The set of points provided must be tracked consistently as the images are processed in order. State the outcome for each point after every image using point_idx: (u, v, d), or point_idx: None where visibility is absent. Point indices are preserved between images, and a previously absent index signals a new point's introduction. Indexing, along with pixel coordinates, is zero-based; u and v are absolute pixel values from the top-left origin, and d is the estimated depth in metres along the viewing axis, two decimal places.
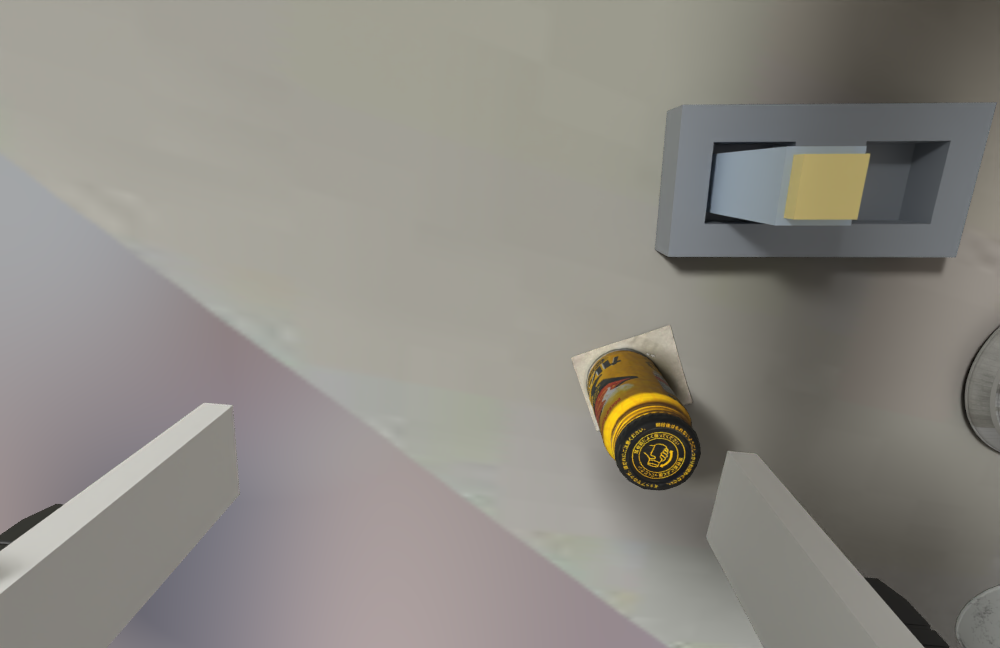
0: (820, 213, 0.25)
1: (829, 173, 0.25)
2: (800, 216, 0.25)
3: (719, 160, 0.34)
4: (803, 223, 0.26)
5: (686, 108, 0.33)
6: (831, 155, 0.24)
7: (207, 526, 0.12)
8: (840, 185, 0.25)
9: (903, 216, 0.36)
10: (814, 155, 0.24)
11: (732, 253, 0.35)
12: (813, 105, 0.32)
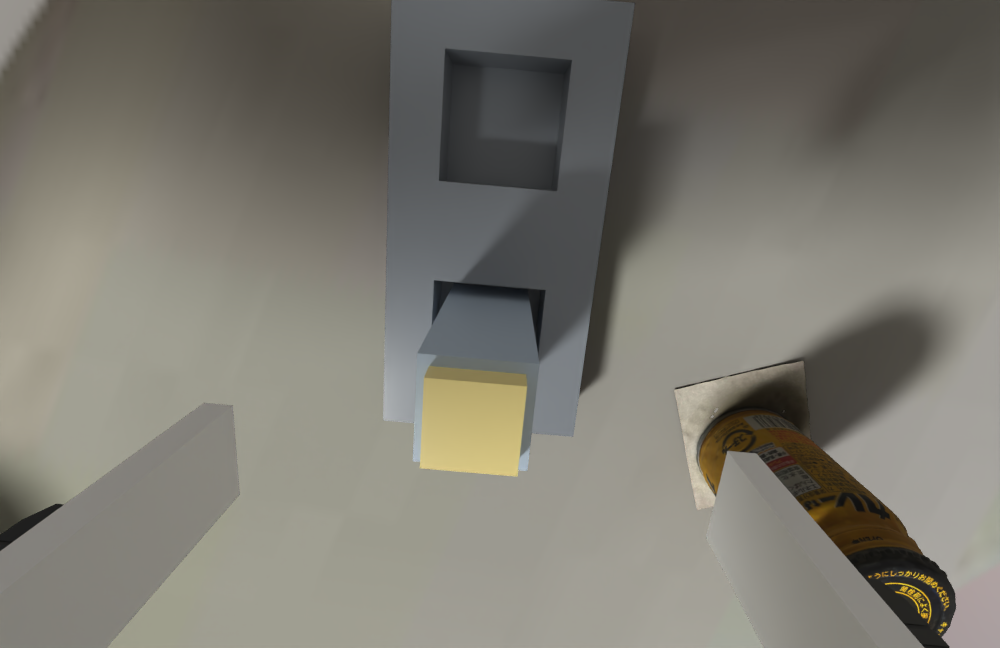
0: (511, 440, 0.16)
1: (450, 432, 0.16)
2: (513, 467, 0.16)
3: None
4: (528, 432, 0.17)
5: (387, 415, 0.26)
6: (424, 432, 0.16)
7: (207, 526, 0.12)
8: (470, 415, 0.16)
9: (559, 71, 0.23)
10: (422, 456, 0.16)
11: (579, 355, 0.25)
12: (388, 261, 0.24)
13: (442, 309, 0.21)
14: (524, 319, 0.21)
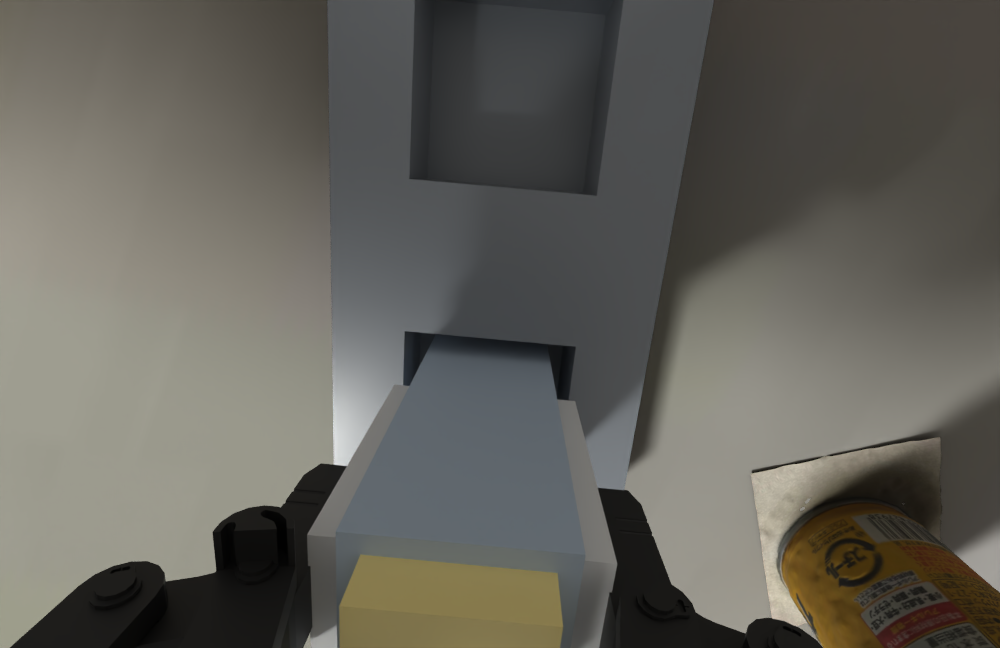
0: None
1: None
2: None
3: None
4: None
5: None
6: None
7: None
8: None
9: (598, 9, 0.15)
10: None
11: (625, 442, 0.16)
12: (334, 302, 0.15)
13: (412, 387, 0.13)
14: (545, 408, 0.13)
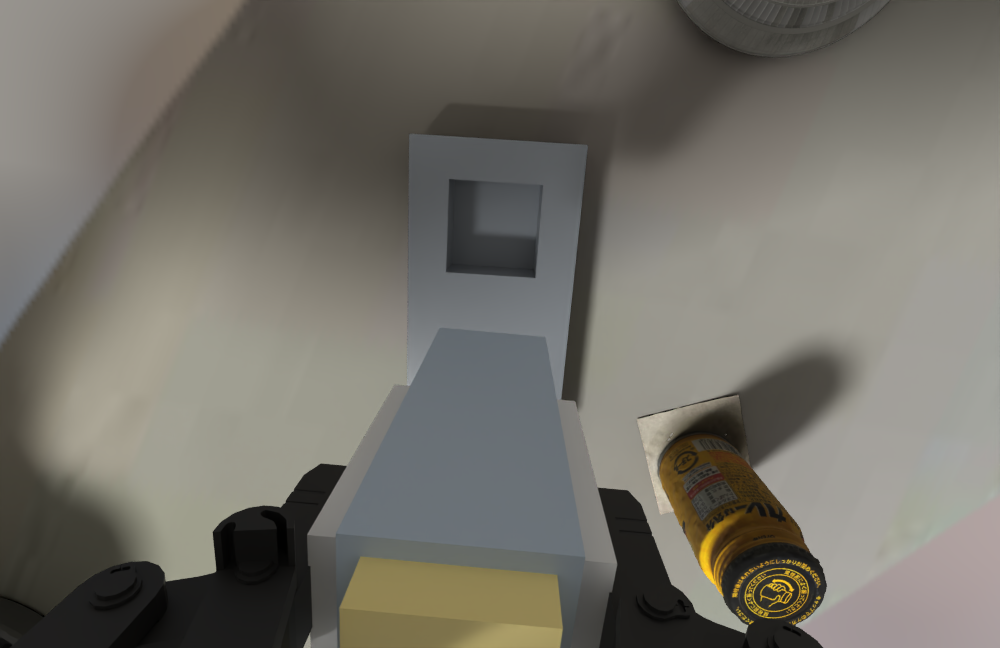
0: None
1: None
2: None
3: None
4: None
5: None
6: None
7: None
8: None
9: None
10: None
11: (557, 398, 0.32)
12: (408, 331, 0.31)
13: (412, 389, 0.13)
14: (545, 410, 0.13)
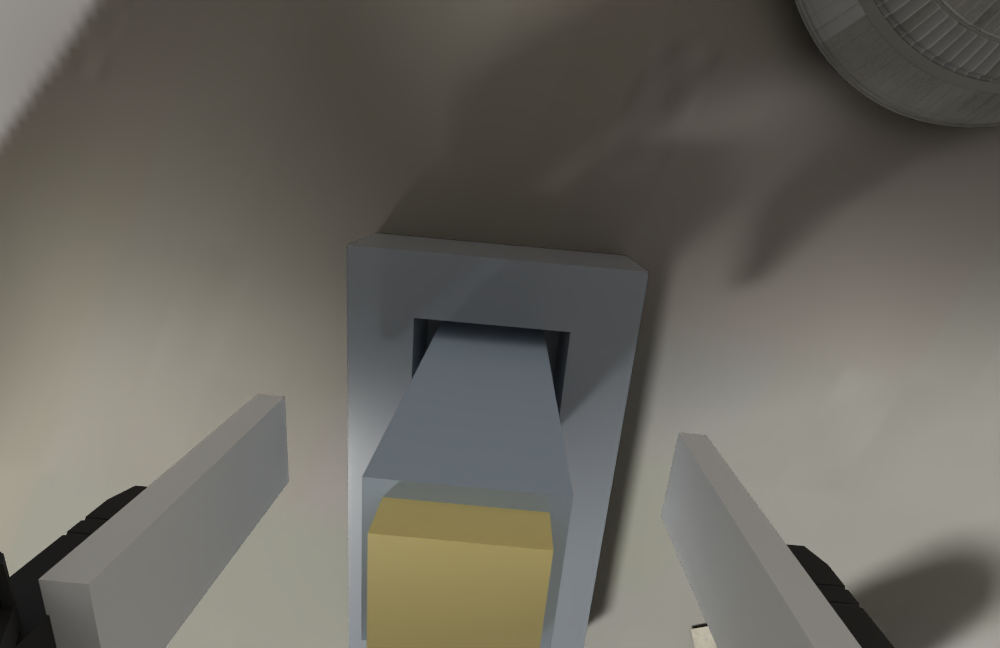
0: (524, 634, 0.09)
1: (418, 621, 0.09)
2: None
3: None
4: (552, 601, 0.10)
5: None
6: (371, 619, 0.09)
7: (263, 510, 0.13)
8: (451, 595, 0.09)
9: None
10: None
11: (579, 634, 0.21)
12: (350, 536, 0.20)
13: (421, 367, 0.15)
14: (540, 385, 0.14)
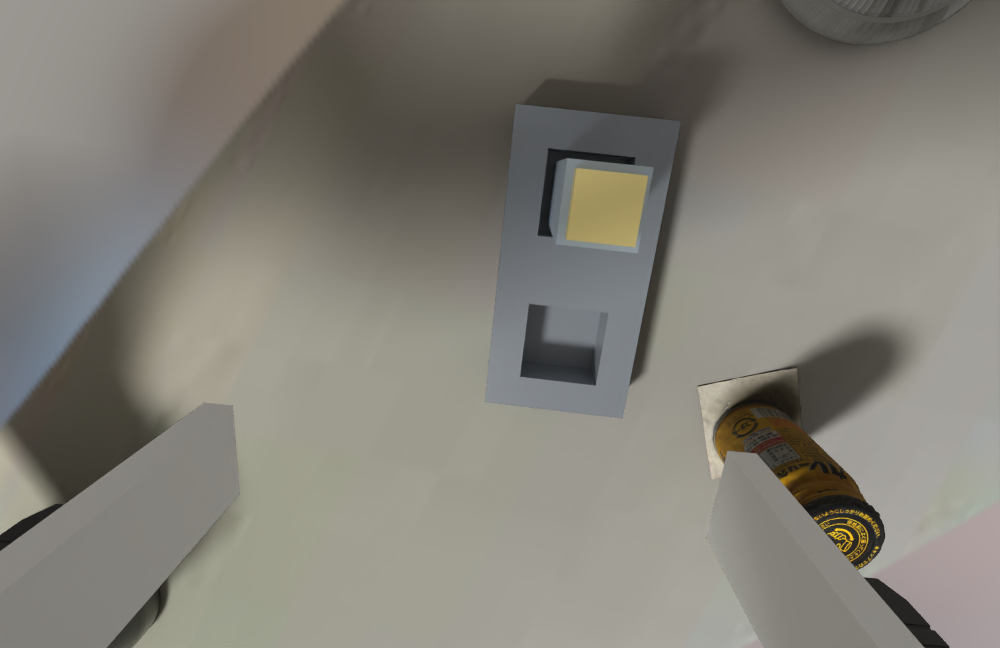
0: (633, 218, 0.23)
1: (591, 211, 0.23)
2: (633, 240, 0.23)
3: None
4: (641, 221, 0.24)
5: (488, 398, 0.36)
6: (572, 211, 0.23)
7: (207, 526, 0.12)
8: (606, 198, 0.22)
9: (623, 157, 0.33)
10: (569, 229, 0.23)
11: (630, 360, 0.34)
12: (497, 289, 0.33)
13: (561, 160, 0.28)
14: None
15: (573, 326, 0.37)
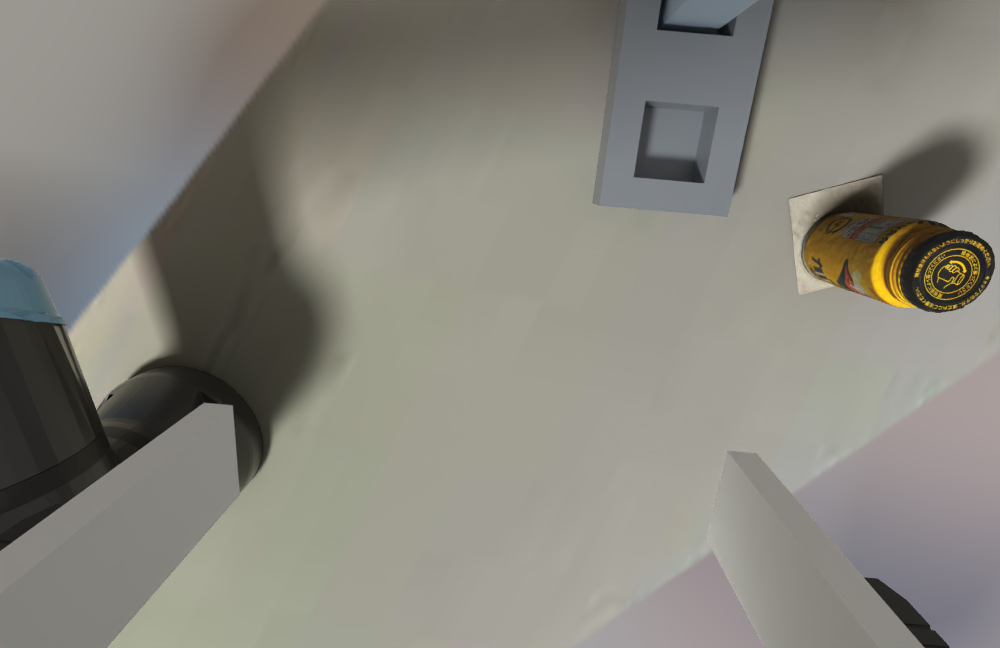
0: None
1: None
2: None
3: (672, 22, 0.35)
4: None
5: (602, 201, 0.38)
6: None
7: (207, 526, 0.12)
8: None
9: None
10: None
11: (737, 155, 0.37)
12: (617, 86, 0.36)
13: None
14: None
15: (676, 138, 0.40)
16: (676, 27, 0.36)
